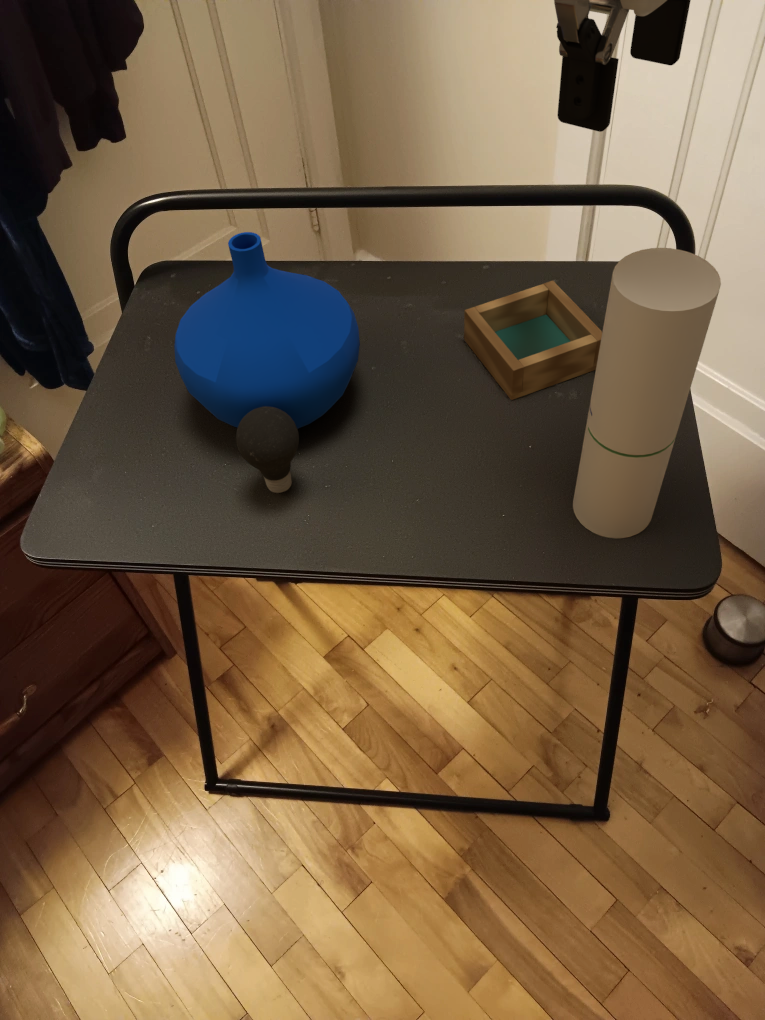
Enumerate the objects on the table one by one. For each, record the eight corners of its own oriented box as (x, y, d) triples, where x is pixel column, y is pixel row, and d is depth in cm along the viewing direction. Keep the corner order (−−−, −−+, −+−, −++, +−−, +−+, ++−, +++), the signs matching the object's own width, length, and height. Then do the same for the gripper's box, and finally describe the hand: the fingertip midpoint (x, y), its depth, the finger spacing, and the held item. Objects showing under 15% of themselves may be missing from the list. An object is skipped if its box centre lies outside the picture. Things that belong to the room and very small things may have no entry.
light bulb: (252, 470, 82) (230, 396, 74) (308, 463, 82) (292, 389, 74) (251, 514, 78) (229, 442, 71) (310, 507, 78) (294, 434, 71)
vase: (200, 350, 94) (152, 196, 79) (360, 334, 94) (342, 176, 79) (188, 471, 82) (129, 317, 68) (371, 452, 82) (352, 294, 67)
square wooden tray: (549, 310, 94) (552, 280, 91) (602, 367, 88) (607, 337, 84) (463, 339, 92) (464, 309, 89) (511, 400, 86) (513, 370, 82)
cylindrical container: (648, 478, 78) (712, 247, 58) (656, 539, 73) (728, 311, 54) (571, 476, 79) (608, 247, 59) (574, 536, 74) (616, 310, 55)
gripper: (669, -236, 33) (611, 169, 46) (817, -316, 41) (732, 48, 54) (507, -243, 36) (496, 138, 49) (674, -316, 44) (626, 28, 58)
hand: (619, 91), depth 52 cm, fingers open, 9 cm apart
